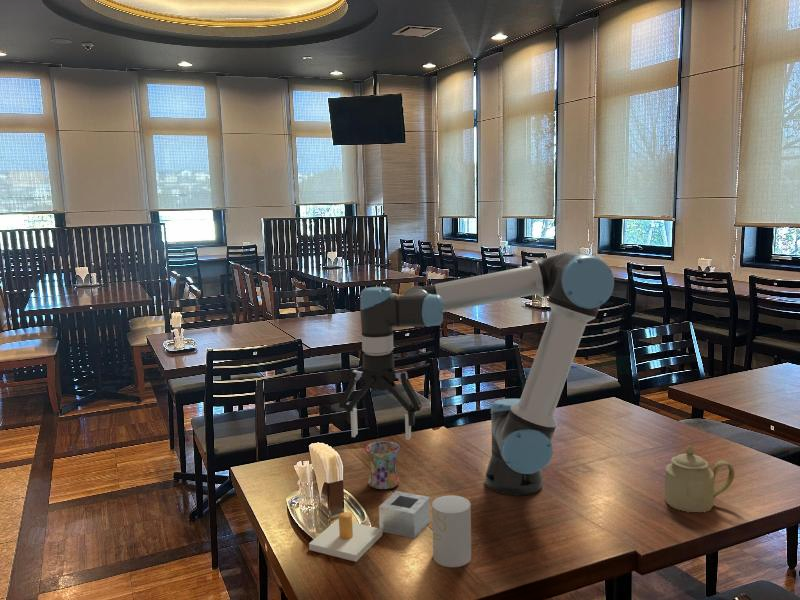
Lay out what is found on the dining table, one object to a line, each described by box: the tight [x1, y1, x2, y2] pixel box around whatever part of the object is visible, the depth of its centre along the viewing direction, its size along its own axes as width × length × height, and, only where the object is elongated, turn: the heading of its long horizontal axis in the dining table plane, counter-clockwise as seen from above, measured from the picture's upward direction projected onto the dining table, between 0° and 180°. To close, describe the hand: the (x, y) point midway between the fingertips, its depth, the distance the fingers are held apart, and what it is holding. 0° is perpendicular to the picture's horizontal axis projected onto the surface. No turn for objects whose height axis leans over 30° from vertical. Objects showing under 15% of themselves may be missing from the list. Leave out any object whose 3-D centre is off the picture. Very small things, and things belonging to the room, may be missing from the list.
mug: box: [365, 440, 401, 490], centre depth 173 cm, size 12×9×11 cm
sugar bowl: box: [664, 444, 735, 513], centre depth 157 cm, size 15×11×15 cm
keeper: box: [308, 511, 383, 563], centre depth 143 cm, size 12×12×6 cm
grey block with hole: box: [378, 490, 431, 540], centre depth 150 cm, size 9×9×6 cm
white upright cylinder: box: [431, 494, 472, 568], centre depth 136 cm, size 8×8×12 cm
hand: (381, 436), depth 155 cm, fingers open, 13 cm apart
